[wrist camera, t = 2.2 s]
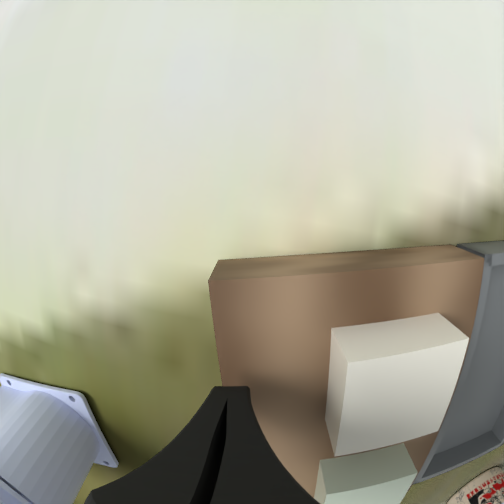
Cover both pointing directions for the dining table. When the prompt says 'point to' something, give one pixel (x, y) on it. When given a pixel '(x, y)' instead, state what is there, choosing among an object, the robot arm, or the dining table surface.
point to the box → (476, 377)
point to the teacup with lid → (482, 489)
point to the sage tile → (366, 477)
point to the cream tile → (391, 381)
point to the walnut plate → (325, 331)
